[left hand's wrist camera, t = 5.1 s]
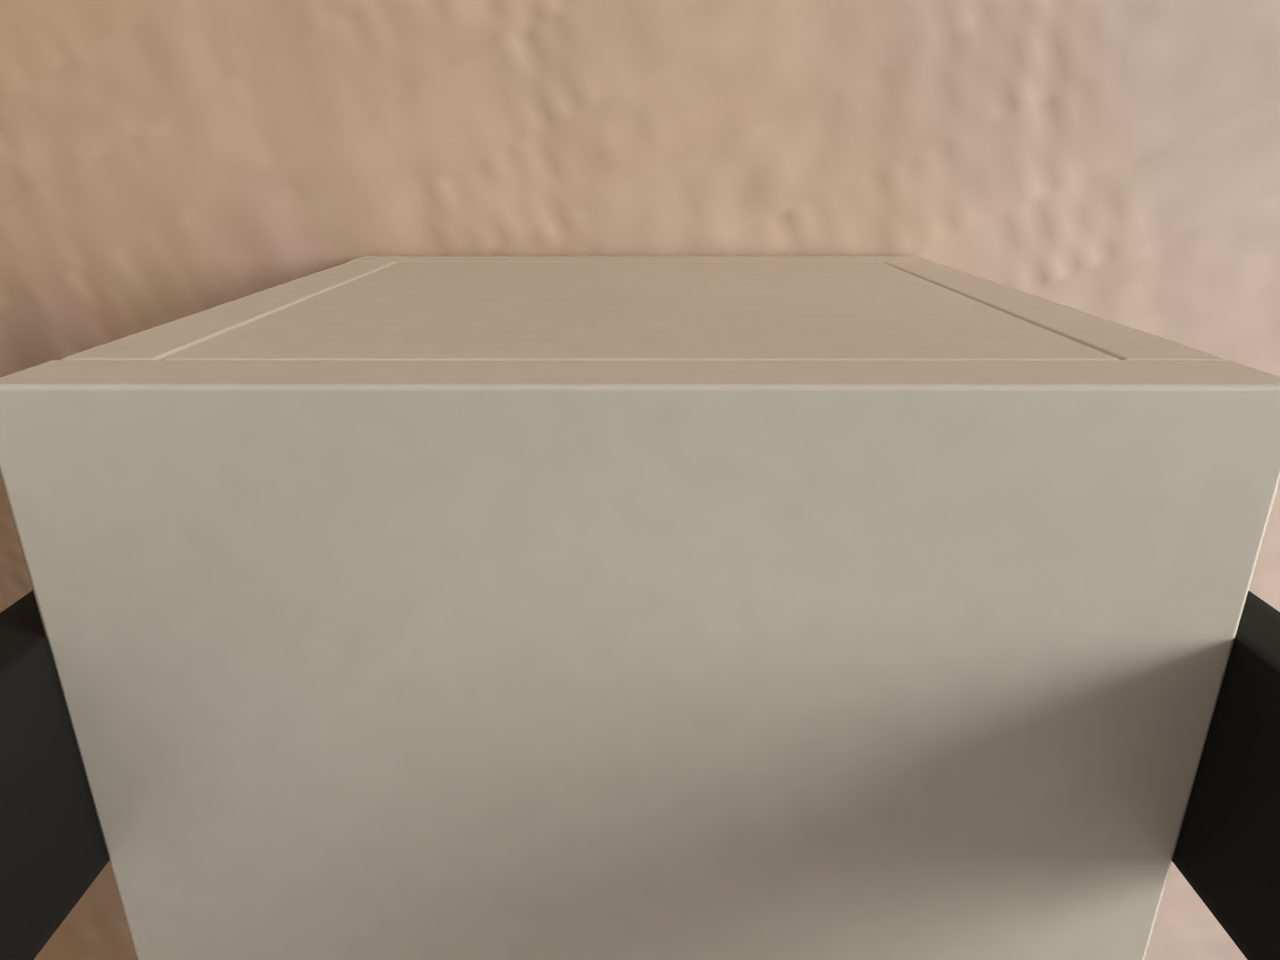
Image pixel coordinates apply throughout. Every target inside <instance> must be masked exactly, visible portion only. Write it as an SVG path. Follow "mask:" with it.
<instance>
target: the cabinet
mask: <svg viewBox="0 0 1280 960" xmlns="http://www.w3.org/2000/svg"><path fill="white" fill-rule="evenodd" d="M0 474H1V478H2V481H3V485H4V488H5V492H6V496H7V499H8V503H9V506H10V510H11V513H12V517H13V520H14V524H15V527H16V531H17V535H18V538H19V542H20V545H21V549H22V552H23V556H24V559H25V563H26V567H27V570H28V574H29V577H30V581H31V584H32V588H33V591H34V595H35V598H36V602H37V606H38V609H39V613H40V616H41V620H42V623H43V627H44V630H45V634H46V637H47V641H48V645H49V648H50V652H51V655H52V659H53V662H54V666H55V669H56V673H57V677H58V680H59V684H60V687H61V691H62V694H63V698H64V701H65V705H66V708H67V712H68V716H69V719H70V723H71V726H72V730H73V733H74V737H75V740H76V744H77V747H78V751H79V755H80V758H81V762H82V765H83V769H84V772H85V776H86V779H87V783H88V786H89V790H90V794H91V797H92V801H93V804H94V808H95V811H96V815H97V818H98V822H99V826H100V829H101V833H102V836H103V840H104V843H105V847H106V850H107V854H108V857H109V861H110V865H111V868H112V872H113V875H114V879H115V882H116V886H117V889H118V893H119V896H120V900H121V904H122V907H123V911H124V914H125V918H126V921H127V925H128V928H129V932H130V935H131V939H132V943H133V946H134V950H135V953H136V957H137V960H1144V958H1145V954H1146V951H1147V947H1148V944H1149V940H1150V937H1151V933H1152V930H1153V926H1154V923H1155V919H1156V915H1157V912H1158V908H1159V905H1160V901H1161V898H1162V894H1163V891H1164V887H1165V884H1166V880H1167V877H1168V873H1169V869H1170V866H1171V862H1172V859H1173V855H1174V852H1175V848H1176V845H1177V841H1178V838H1179V834H1180V830H1181V827H1182V823H1183V820H1184V816H1185V813H1186V809H1187V806H1188V802H1189V799H1190V795H1191V792H1192V788H1193V784H1194V781H1195V777H1196V774H1197V770H1198V767H1199V763H1200V760H1201V756H1202V753H1203V749H1204V746H1205V742H1206V738H1207V735H1208V731H1209V728H1210V724H1211V721H1212V717H1213V714H1214V710H1215V707H1216V703H1217V700H1218V696H1219V692H1220V689H1221V685H1222V682H1223V678H1224V675H1225V671H1226V668H1227V664H1228V661H1229V657H1230V654H1231V650H1232V646H1233V643H1234V639H1235V636H1236V632H1237V629H1238V625H1239V622H1240V618H1241V615H1242V611H1243V608H1244V604H1245V600H1246V597H1247V593H1248V590H1249V586H1250V583H1251V579H1252V576H1253V572H1254V569H1255V565H1256V561H1257V558H1258V554H1259V551H1260V547H1261V544H1262V540H1263V537H1264V533H1265V530H1266V526H1267V523H1268V519H1269V515H1270V512H1271V508H1272V505H1273V501H1274V498H1275V494H1276V491H1277V487H1278V484H1279V480H1280V377H1278V376H1275V375H1272V374H1269V373H1266V372H1263V371H1260V370H1257V369H1254V368H1251V367H1248V366H1245V365H1242V364H1239V363H1236V362H1233V361H1230V360H1226V359H1224V358H1221V357H1218V356H1215V355H1212V354H1209V353H1206V352H1203V351H1200V350H1197V349H1194V348H1191V347H1188V346H1185V345H1182V344H1179V343H1176V342H1173V341H1170V340H1167V339H1164V338H1161V337H1158V336H1155V335H1152V334H1149V333H1146V332H1143V331H1140V330H1137V329H1134V328H1131V327H1128V326H1125V325H1122V324H1119V323H1116V322H1113V321H1110V320H1107V319H1104V318H1101V317H1098V316H1096V315H1093V314H1090V313H1087V312H1084V311H1081V310H1078V309H1075V308H1072V307H1069V306H1066V305H1063V304H1060V303H1057V302H1054V301H1051V300H1048V299H1045V298H1042V297H1039V296H1036V295H1033V294H1030V293H1027V292H1024V291H1021V290H1018V289H1015V288H1012V287H1009V286H1006V285H1003V284H1000V283H997V282H994V281H991V280H988V279H985V278H982V277H979V276H976V275H973V274H970V273H967V272H964V271H961V270H958V269H955V268H952V267H949V266H946V265H943V264H940V263H937V262H934V261H930V260H927V259H924V258H921V257H918V256H363V257H360V258H357V259H354V260H351V261H348V262H347V263H344V264H341V265H338V266H335V267H332V268H329V269H326V270H323V271H320V272H317V273H314V274H311V275H308V276H305V277H302V278H299V279H296V280H293V281H290V282H287V283H284V284H281V285H278V286H275V287H272V288H269V289H266V290H263V291H260V292H257V293H254V294H251V295H248V296H245V297H242V298H240V299H237V300H234V301H231V302H228V303H225V304H222V305H219V306H216V307H213V308H210V309H207V310H204V311H201V312H198V313H195V314H192V315H189V316H186V317H183V318H180V319H177V320H174V321H171V322H168V323H165V324H162V325H159V326H156V327H153V328H150V329H147V330H144V331H141V332H138V333H135V334H133V335H130V336H127V337H124V338H121V339H118V340H115V341H112V342H109V343H106V344H103V345H100V346H97V347H94V348H91V349H88V350H85V351H82V352H79V353H76V354H73V355H70V356H67V357H65V358H62V359H60V360H52V361H49V362H46V363H43V364H40V365H37V366H34V367H31V368H28V369H25V370H22V371H19V372H16V373H13V374H10V375H7V376H4V377H1V378H0Z"/></svg>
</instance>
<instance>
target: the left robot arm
mask: <svg viewBox="0 0 1280 960" xmlns="http://www.w3.org/2000/svg"><path fill="white" fill-rule="evenodd" d="M108 861H109V857H108V854H107V850H106V847H105V843H104V840H103V836H102V833H101V829H100V826H99V822H98V818H97V815H96V811H95V808H94V804H93V801H92V797H91V794H90V790H89V786H88V783H87V779H86V776H85V772H84V769H83V765H82V762H81V758H80V755H79V751H78V747H77V744H76V740H75V737H74V733H73V730H72V726H71V723H70V719H69V716H68V712H67V708H66V705H65V701H64V698H63V694H62V691H61V687H60V684H59V680H58V677H57V673H56V669H55V666H54V662H53V659H52V655H51V652H50V648H49V645H48V641H47V637H46V634H45V630H44V627H43V623H42V620H41V616H40V613H39V609H38V606H37V602H36V598H35V595H34V591H31V592H30V593H28V594H27V595H26V596H24V597H23V598H21V599H20V600H18V601H17V602H16V603H14V604H13V605H11V606H10V607H8V608H7V609H6V610H4V611H3V612H1V613H0V960H33V959H34V958H35V957H36V956H37V954H38V953H39V952H40V950H41V949H42V948H43V946H44V945H45V944H46V942H47V941H48V940H49V939H50V937H51V936H52V935H53V933H54V932H55V931H56V929H57V928H58V927H59V925H60V924H61V923H62V921H63V920H64V919H65V918H66V916H67V915H68V914H69V912H70V911H71V910H72V908H73V907H74V906H75V904H76V903H77V902H78V901H79V899H80V898H81V897H82V895H83V894H84V893H85V891H86V890H87V889H88V887H89V886H90V885H91V883H92V882H93V881H94V880H95V878H96V877H97V876H98V874H99V873H100V872H101V870H102V869H103V868H104V866H105V865H106V864H107V863H108ZM1172 861H1173V863H1174V864H1175V865H1176V866H1177V868H1178V869H1179V870H1180V872H1181V873H1182V874H1183V876H1184V877H1185V878H1186V880H1187V881H1188V882H1189V884H1190V885H1191V886H1192V887H1193V889H1194V890H1195V891H1196V893H1197V894H1198V895H1199V897H1200V898H1201V899H1202V901H1203V902H1204V903H1205V904H1206V906H1207V907H1208V908H1209V910H1210V911H1211V912H1212V914H1213V915H1214V916H1215V918H1216V919H1217V920H1218V922H1219V923H1220V924H1221V925H1222V927H1223V928H1224V929H1225V931H1226V932H1227V933H1228V935H1229V936H1230V937H1231V939H1232V940H1233V941H1234V942H1235V944H1236V945H1237V946H1238V948H1239V949H1240V950H1241V952H1242V953H1243V954H1244V956H1245V957H1246V958H1247V959H1248V960H1280V612H1278V611H1277V610H1276V609H1274V608H1273V607H1271V606H1270V605H1268V604H1267V603H1266V602H1264V601H1263V600H1261V599H1260V598H1258V597H1257V596H1256V595H1254V594H1253V593H1251V592H1250V591H1248V593H1247V597H1246V600H1245V604H1244V608H1243V611H1242V615H1241V618H1240V622H1239V625H1238V629H1237V632H1236V636H1235V639H1234V643H1233V646H1232V650H1231V654H1230V657H1229V661H1228V664H1227V668H1226V671H1225V675H1224V678H1223V682H1222V685H1221V689H1220V692H1219V696H1218V700H1217V703H1216V707H1215V710H1214V714H1213V717H1212V721H1211V724H1210V728H1209V731H1208V735H1207V738H1206V742H1205V746H1204V749H1203V753H1202V756H1201V760H1200V763H1199V767H1198V770H1197V774H1196V777H1195V781H1194V784H1193V788H1192V792H1191V795H1190V799H1189V802H1188V806H1187V809H1186V813H1185V816H1184V820H1183V823H1182V827H1181V830H1180V834H1179V838H1178V841H1177V845H1176V848H1175V852H1174V855H1173V859H1172Z"/></svg>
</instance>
